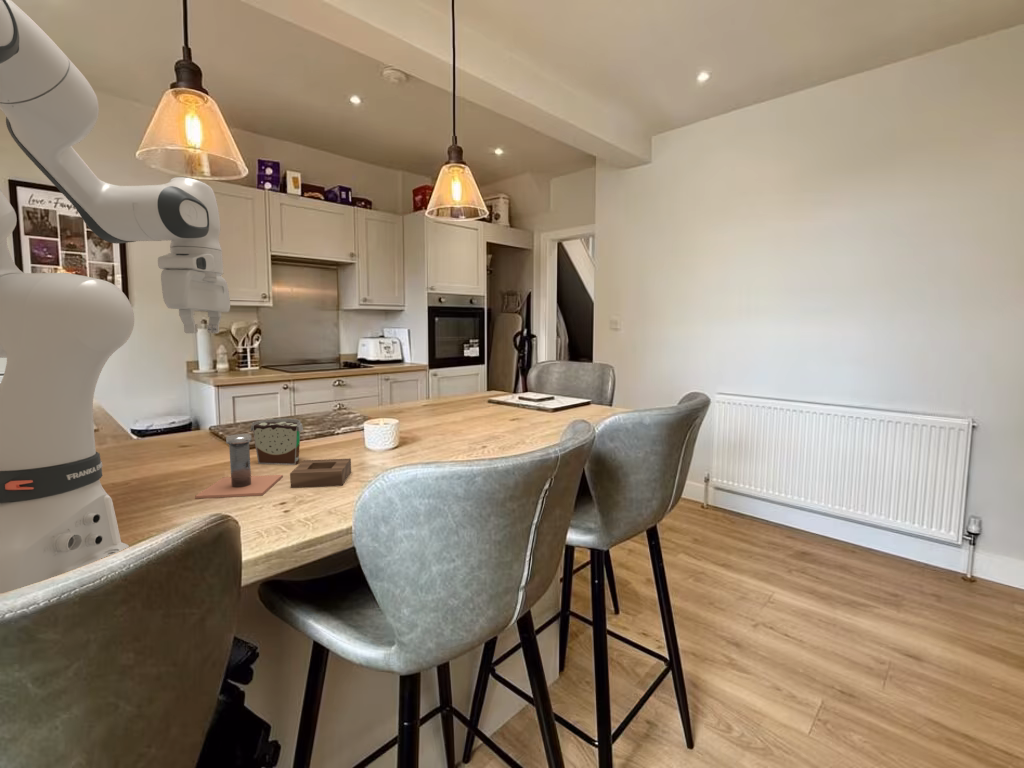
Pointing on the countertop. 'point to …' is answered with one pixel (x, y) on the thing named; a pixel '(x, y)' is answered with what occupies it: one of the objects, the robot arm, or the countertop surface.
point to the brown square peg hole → (320, 473)
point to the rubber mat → (254, 489)
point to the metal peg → (239, 459)
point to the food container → (277, 441)
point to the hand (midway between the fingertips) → (202, 333)
